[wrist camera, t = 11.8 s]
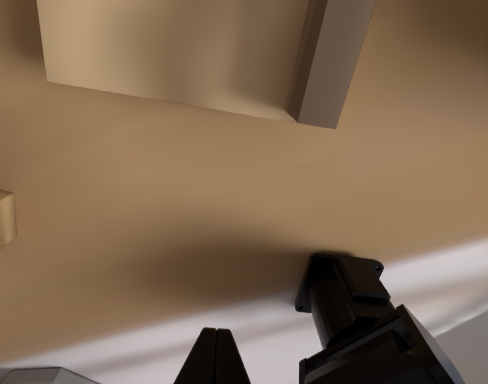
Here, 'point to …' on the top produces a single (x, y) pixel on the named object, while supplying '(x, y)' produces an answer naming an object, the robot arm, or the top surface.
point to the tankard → (45, 377)
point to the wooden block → (7, 218)
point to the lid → (211, 52)
